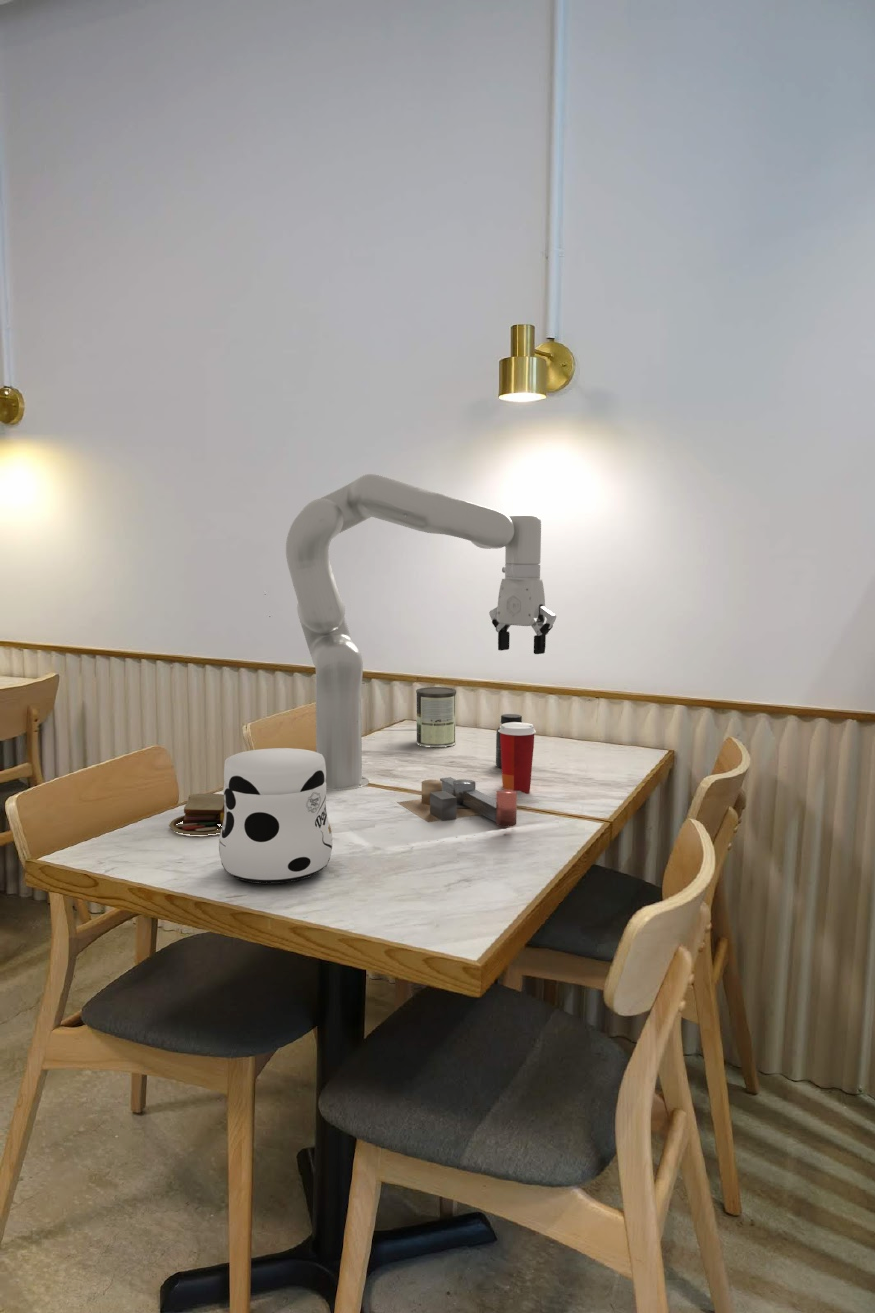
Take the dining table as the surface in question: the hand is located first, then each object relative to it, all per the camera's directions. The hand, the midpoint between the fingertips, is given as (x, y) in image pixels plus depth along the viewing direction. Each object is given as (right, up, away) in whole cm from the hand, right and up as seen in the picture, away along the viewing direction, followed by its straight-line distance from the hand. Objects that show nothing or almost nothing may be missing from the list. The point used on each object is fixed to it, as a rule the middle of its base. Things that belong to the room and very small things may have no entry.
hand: (521, 651), depth 194 cm
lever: (-11, -29, -26) cm, 41 cm away
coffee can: (-19, -24, +37) cm, 48 cm away
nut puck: (-19, -29, -20) cm, 40 cm away
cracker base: (-16, -31, -23) cm, 41 cm away
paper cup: (-2, -29, -8) cm, 30 cm away
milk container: (-43, -35, -55) cm, 78 cm away
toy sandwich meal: (-60, -32, -32) cm, 76 cm away
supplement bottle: (-1, -27, +13) cm, 30 cm away
